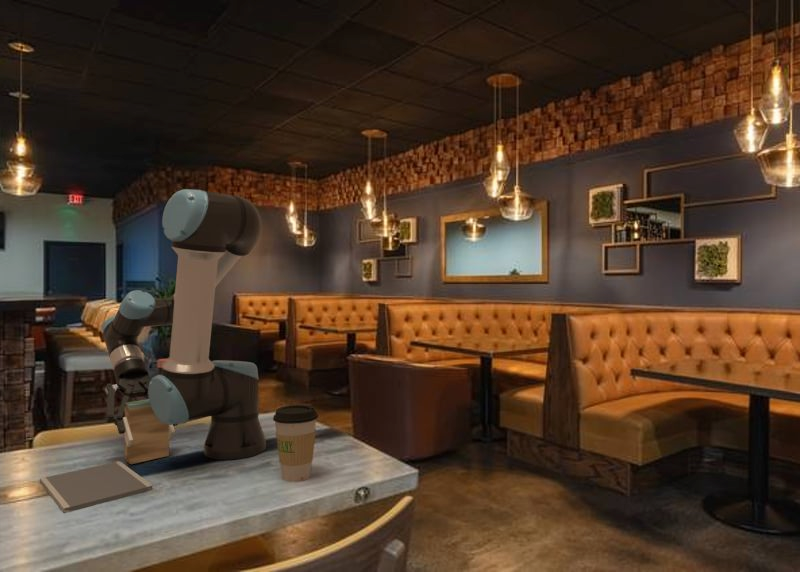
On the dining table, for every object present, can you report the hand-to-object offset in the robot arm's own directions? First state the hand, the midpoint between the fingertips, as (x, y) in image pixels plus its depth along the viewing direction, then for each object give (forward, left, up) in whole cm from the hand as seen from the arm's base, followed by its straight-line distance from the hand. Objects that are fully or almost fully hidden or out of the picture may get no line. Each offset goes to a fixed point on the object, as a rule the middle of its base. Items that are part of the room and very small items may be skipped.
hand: (151, 439), depth 128 cm
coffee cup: (-37, +9, -6) cm, 39 cm away
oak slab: (+2, -2, -5) cm, 6 cm away
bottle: (+13, -34, -6) cm, 37 cm away
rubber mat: (+5, +15, -6) cm, 17 cm away
